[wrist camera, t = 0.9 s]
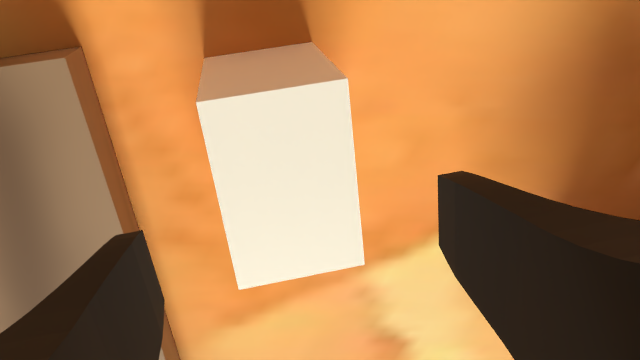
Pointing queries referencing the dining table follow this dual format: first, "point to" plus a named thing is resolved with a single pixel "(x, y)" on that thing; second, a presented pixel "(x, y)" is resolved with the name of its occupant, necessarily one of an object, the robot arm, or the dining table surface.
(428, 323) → the dining table surface
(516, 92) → the dining table surface
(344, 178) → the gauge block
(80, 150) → the walnut plank
